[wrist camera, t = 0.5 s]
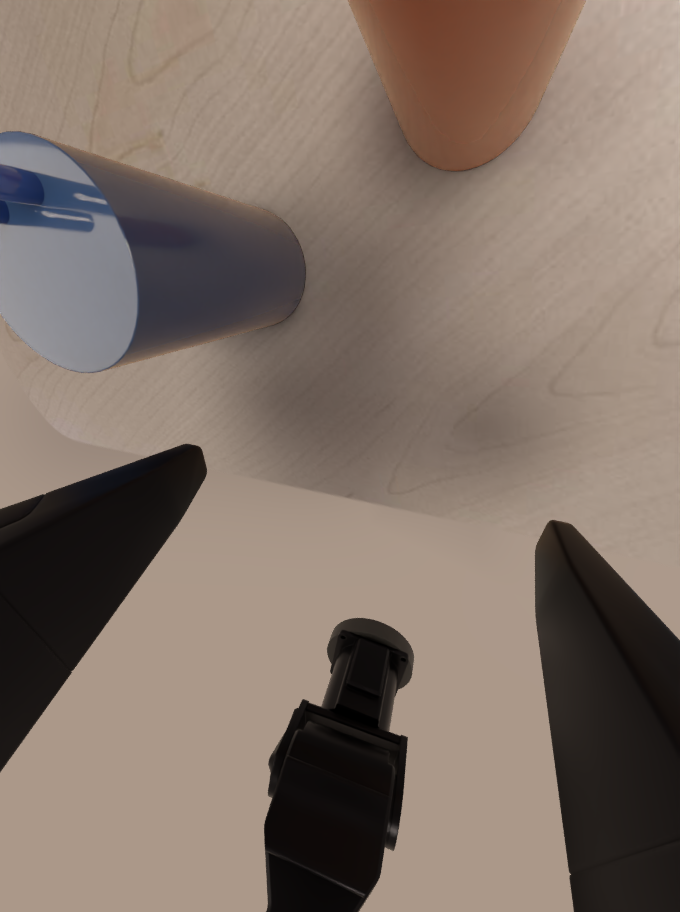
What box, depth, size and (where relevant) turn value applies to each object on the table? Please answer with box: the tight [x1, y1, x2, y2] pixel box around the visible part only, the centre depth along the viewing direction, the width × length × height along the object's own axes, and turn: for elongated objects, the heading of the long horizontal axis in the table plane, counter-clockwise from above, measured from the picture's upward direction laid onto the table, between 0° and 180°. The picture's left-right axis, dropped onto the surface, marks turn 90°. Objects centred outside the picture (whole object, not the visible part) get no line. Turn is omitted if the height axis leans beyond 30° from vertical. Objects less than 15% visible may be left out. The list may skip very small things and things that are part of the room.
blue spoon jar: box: [0, 131, 305, 373], centre depth 15 cm, size 6×6×16 cm
